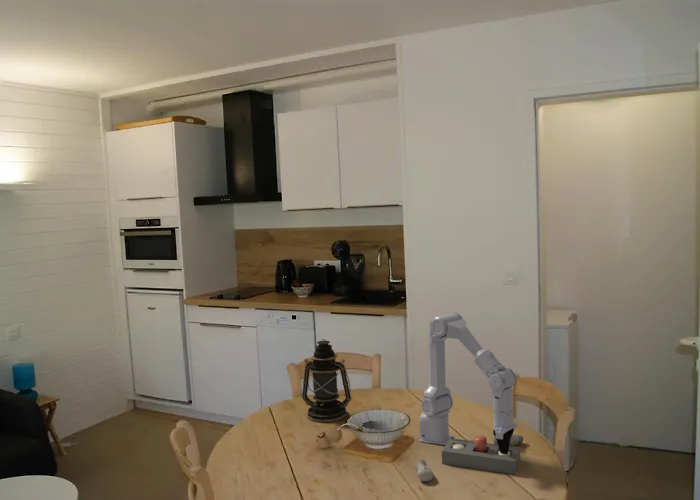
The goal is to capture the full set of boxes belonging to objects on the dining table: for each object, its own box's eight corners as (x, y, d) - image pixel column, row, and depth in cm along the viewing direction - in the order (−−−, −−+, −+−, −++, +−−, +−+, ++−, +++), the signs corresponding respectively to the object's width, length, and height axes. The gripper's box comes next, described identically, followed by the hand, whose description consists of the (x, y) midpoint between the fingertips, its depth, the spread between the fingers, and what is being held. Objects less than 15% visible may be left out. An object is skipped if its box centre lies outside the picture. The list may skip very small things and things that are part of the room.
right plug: (497, 466, 173) (497, 454, 173) (499, 461, 177) (499, 449, 176) (509, 468, 172) (509, 456, 171) (511, 463, 175) (511, 451, 175)
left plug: (451, 459, 179) (451, 448, 179) (454, 454, 182) (454, 443, 182) (463, 461, 178) (462, 449, 177) (465, 456, 181) (465, 444, 181)
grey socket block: (442, 463, 177) (441, 450, 177) (450, 450, 186) (450, 438, 186) (515, 474, 168) (515, 461, 168) (520, 460, 177) (520, 447, 177)
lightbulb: (530, 436, 186) (502, 435, 182) (525, 453, 187) (496, 451, 183) (520, 426, 191) (492, 424, 188) (515, 442, 193) (487, 440, 189)
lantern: (295, 421, 218) (291, 343, 215) (308, 406, 233) (304, 333, 231) (347, 424, 213) (343, 344, 210) (357, 408, 228) (353, 334, 226)
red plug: (473, 451, 176) (473, 439, 176) (476, 446, 179) (476, 435, 179) (485, 453, 174) (485, 441, 174) (488, 448, 178) (487, 436, 177)
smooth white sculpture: (432, 487, 165) (415, 483, 165) (429, 474, 173) (413, 469, 173) (436, 473, 165) (419, 469, 165) (433, 460, 173) (417, 456, 173)
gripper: (512, 419, 165) (514, 465, 166) (520, 402, 178) (521, 445, 179) (487, 416, 168) (489, 461, 169) (497, 400, 181) (498, 442, 182)
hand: (504, 453), depth 174 cm, fingers closed, pressing on right plug
